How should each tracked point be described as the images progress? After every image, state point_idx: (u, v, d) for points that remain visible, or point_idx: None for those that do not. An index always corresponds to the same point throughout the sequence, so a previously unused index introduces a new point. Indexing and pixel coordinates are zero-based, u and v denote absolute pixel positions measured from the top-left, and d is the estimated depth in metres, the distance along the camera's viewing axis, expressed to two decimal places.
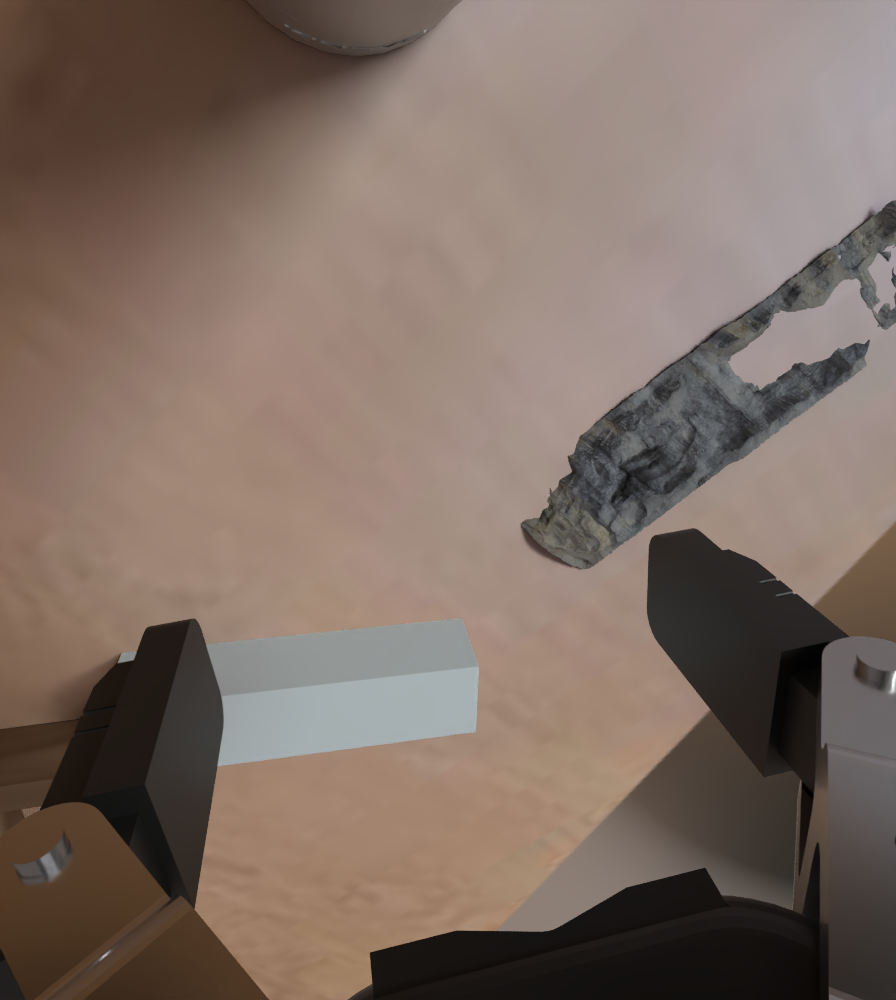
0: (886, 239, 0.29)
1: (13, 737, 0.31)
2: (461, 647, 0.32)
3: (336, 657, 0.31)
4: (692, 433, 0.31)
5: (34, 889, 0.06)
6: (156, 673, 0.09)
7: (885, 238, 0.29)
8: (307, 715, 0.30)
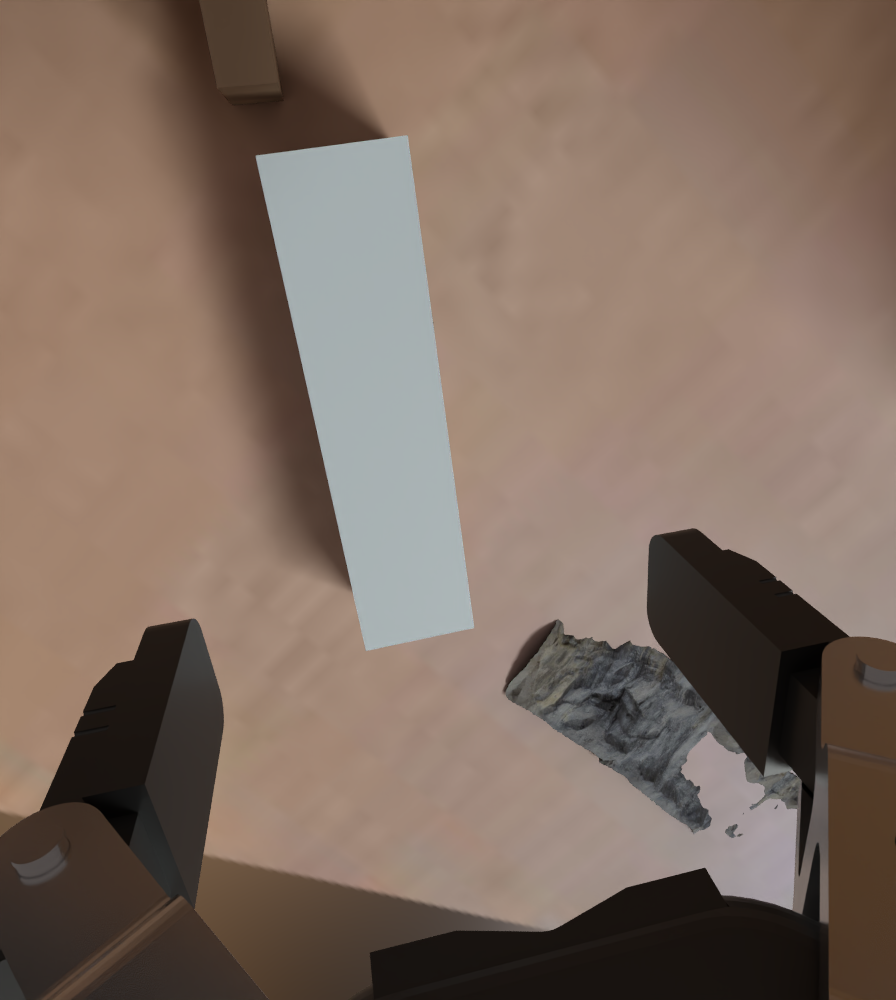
0: (790, 801, 0.38)
1: None
2: None
3: None
4: (653, 735, 0.33)
5: (34, 889, 0.06)
6: (156, 673, 0.09)
7: (791, 800, 0.38)
8: (395, 437, 0.21)
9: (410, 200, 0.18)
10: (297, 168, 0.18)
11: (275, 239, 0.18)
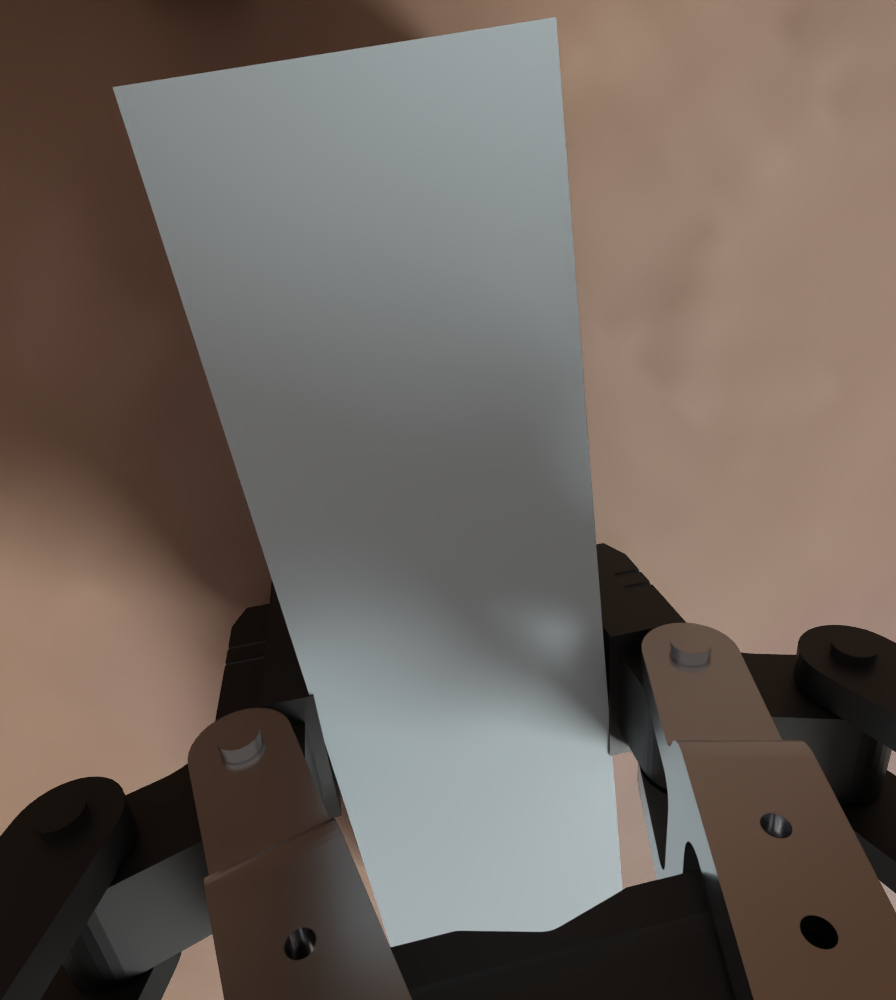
0: None
1: None
2: None
3: None
4: None
5: (246, 772, 0.08)
6: None
7: None
8: (497, 729, 0.10)
9: (555, 203, 0.07)
10: (242, 123, 0.06)
11: (193, 324, 0.07)
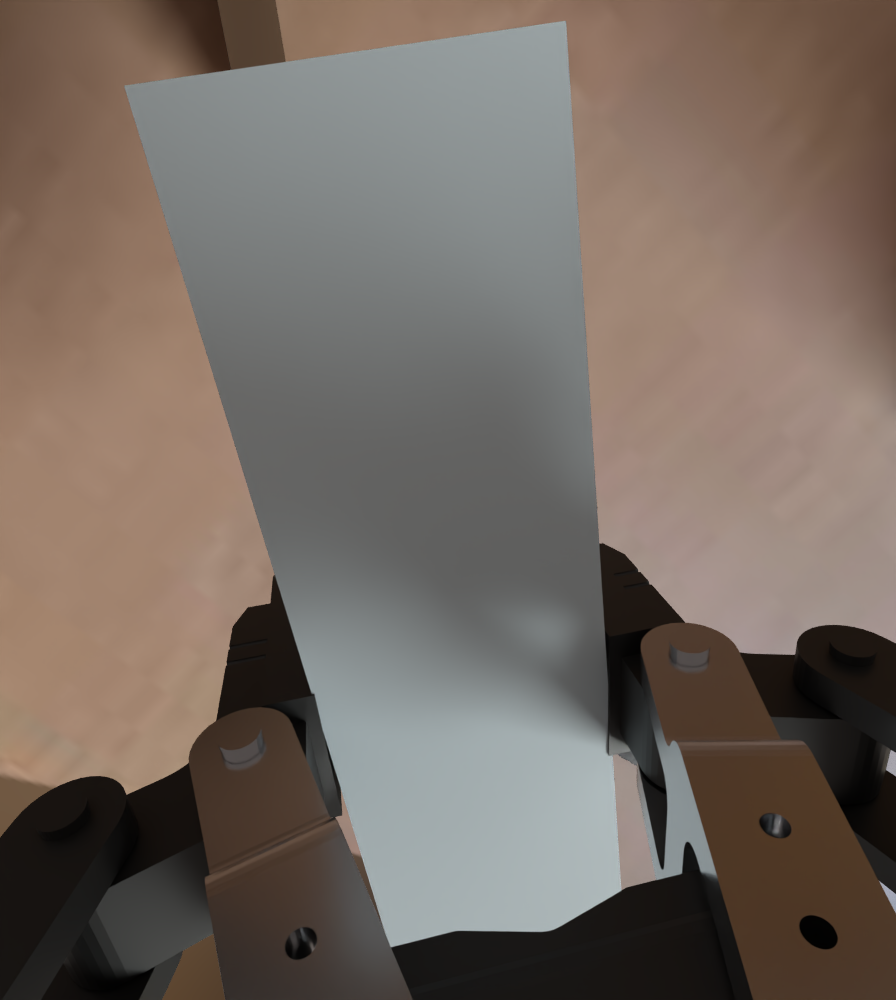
0: None
1: None
2: None
3: None
4: None
5: (247, 771, 0.08)
6: None
7: None
8: (498, 730, 0.10)
9: (562, 206, 0.07)
10: (252, 122, 0.06)
11: (200, 323, 0.07)
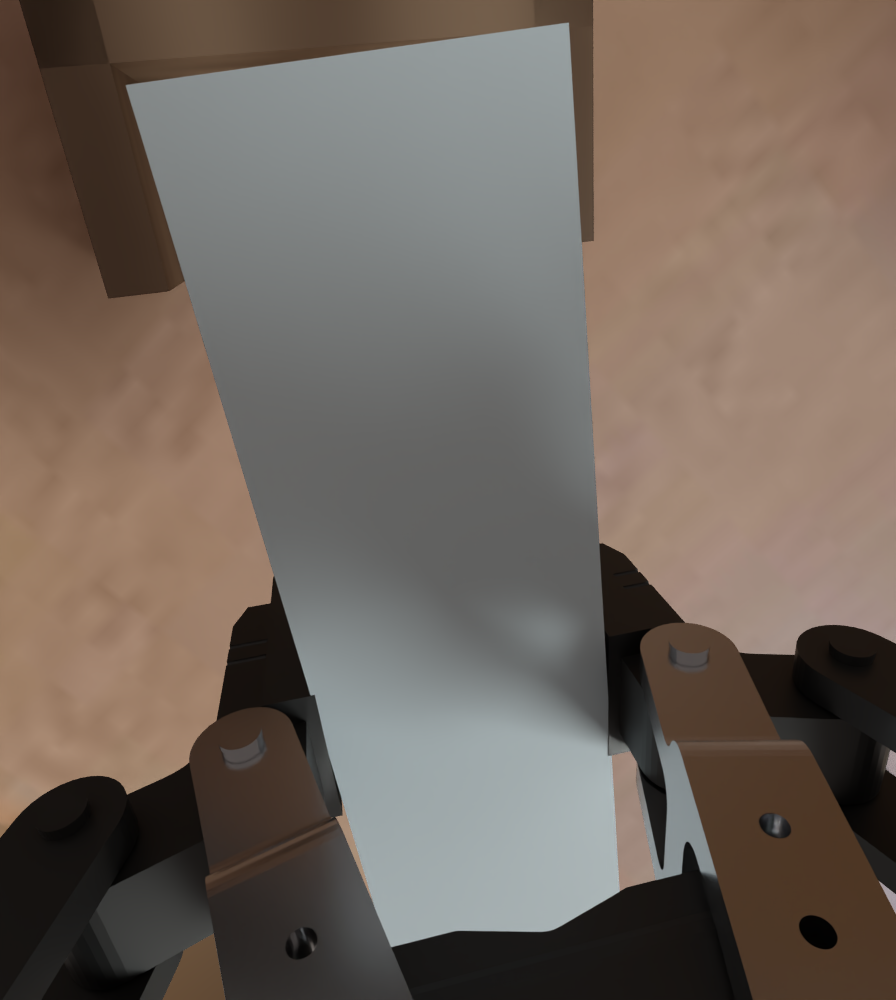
0: None
1: None
2: None
3: None
4: None
5: (247, 771, 0.08)
6: None
7: None
8: (497, 732, 0.10)
9: (564, 208, 0.07)
10: (254, 122, 0.06)
11: (201, 323, 0.07)
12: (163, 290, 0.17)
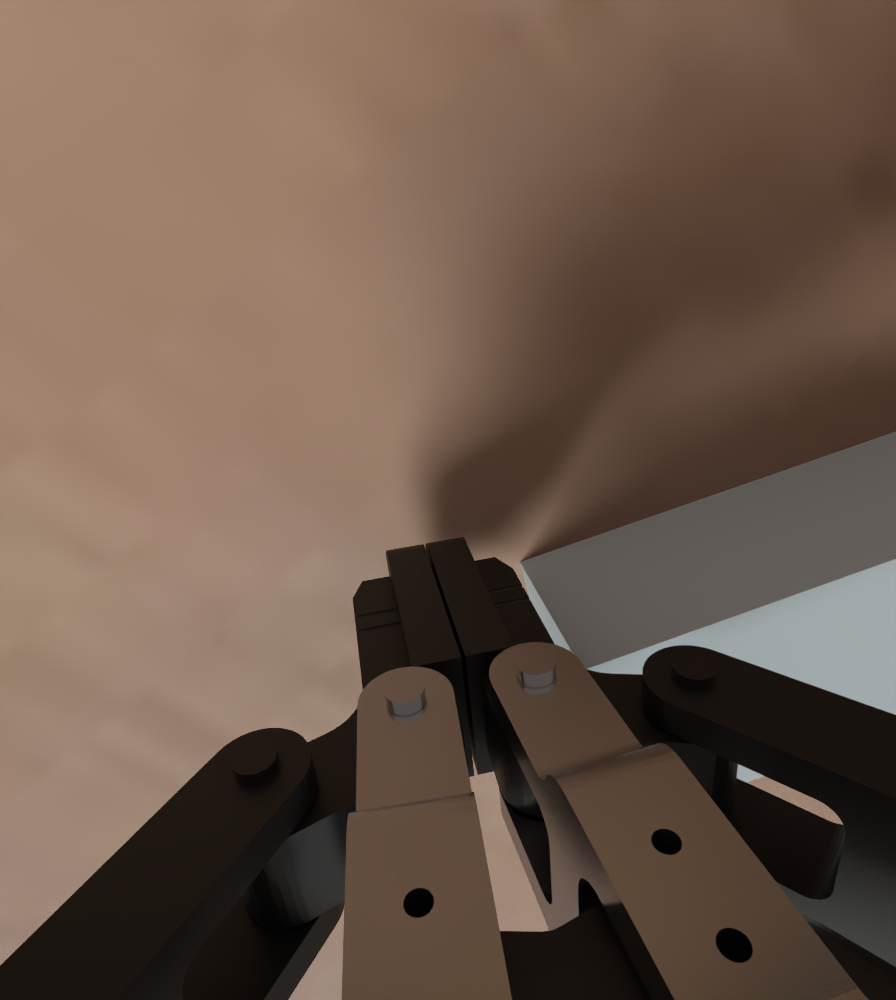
0: None
1: None
2: None
3: None
4: None
5: (419, 723, 0.08)
6: (418, 582, 0.11)
7: None
8: None
9: None
10: None
11: None
12: None
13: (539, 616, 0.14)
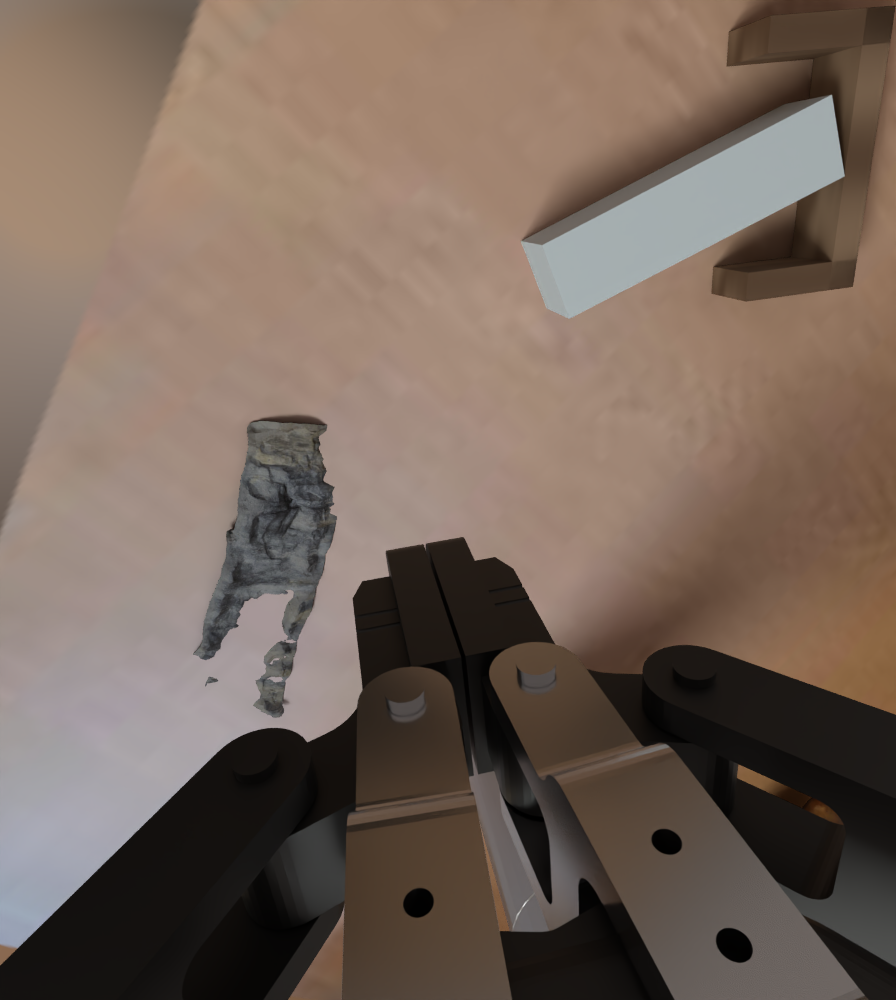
0: (261, 700, 0.46)
1: None
2: None
3: None
4: (270, 555, 0.41)
5: (419, 723, 0.08)
6: (418, 582, 0.11)
7: (262, 700, 0.46)
8: (694, 218, 0.34)
9: (817, 187, 0.35)
10: (827, 119, 0.34)
11: (794, 114, 0.33)
12: (768, 50, 0.32)
13: (531, 259, 0.37)
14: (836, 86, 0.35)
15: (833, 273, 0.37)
